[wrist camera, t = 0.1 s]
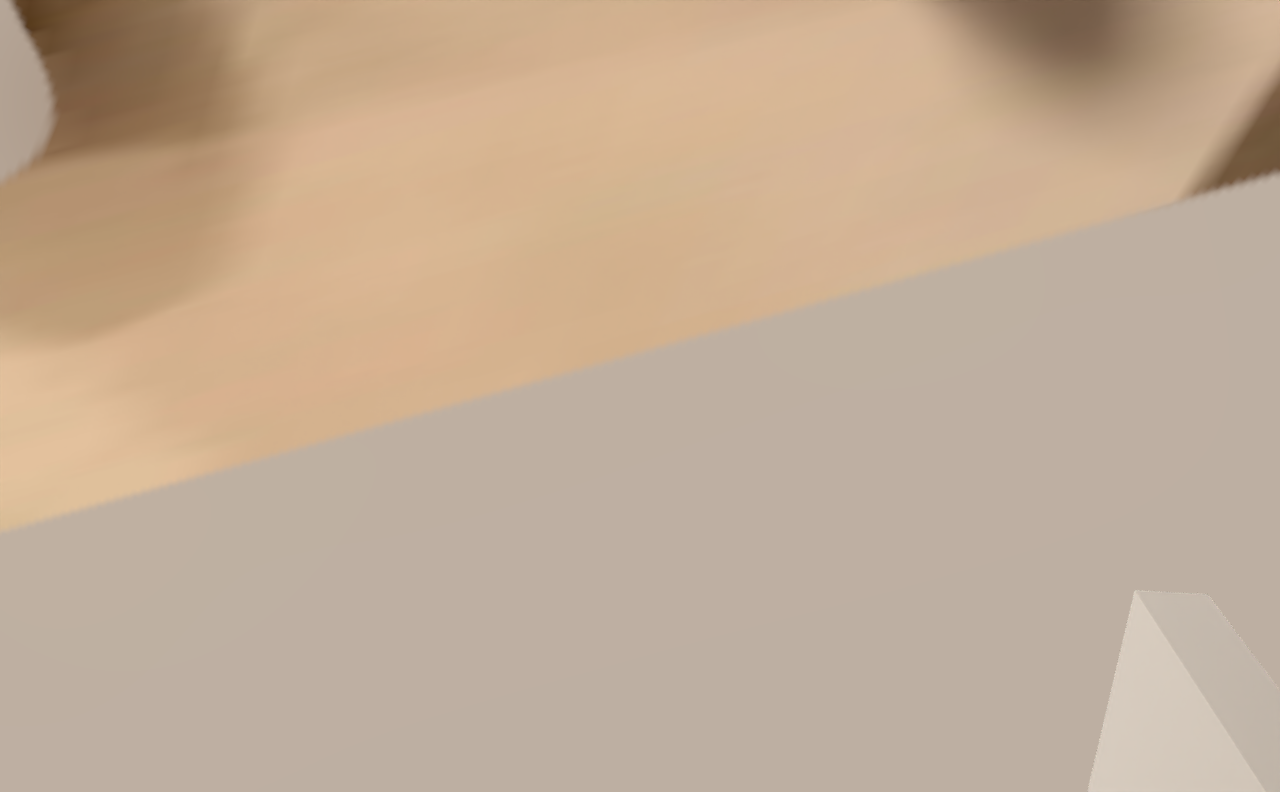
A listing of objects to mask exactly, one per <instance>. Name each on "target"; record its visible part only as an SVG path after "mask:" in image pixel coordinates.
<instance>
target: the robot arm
mask: <svg viewBox="0 0 1280 792" xmlns="http://www.w3.org/2000/svg"><path fill="white" fill-rule="evenodd" d="M1087 792H1280V689H1279V688H1278V686H1277V685H1276V684H1275V683H1274V681H1273V680H1272V679H1271V677H1270V676H1269V675H1268V673H1267V672H1266V671H1265V669H1264V668H1263V667H1262V665H1261V664H1260V663H1259V661H1258V660H1257V659H1256V657H1255V656H1254V655H1253V653H1252V652H1251V651H1250V649H1249V648H1248V647H1247V645H1246V644H1245V643H1244V642H1243V640H1242V639H1241V638H1240V636H1239V635H1238V634H1237V632H1236V631H1235V630H1234V628H1233V627H1232V626H1231V624H1230V623H1229V622H1228V621H1227V619H1226V618H1225V616H1224V615H1223V614H1222V613H1221V611H1220V610H1219V609H1218V607H1217V606H1216V605H1215V603H1214V602H1213V601H1212V599H1211V598H1210V597H1209V595H1208V594H1192V593H1175V592H1159V591H1142V590H1135V591H1134V596H1133V600H1132V605H1131V608H1130V613H1129V617H1128V621H1127V625H1126V630H1125V634H1124V638H1123V643H1122V647H1121V651H1120V655H1119V660H1118V664H1117V668H1116V672H1115V676H1114V681H1113V685H1112V689H1111V694H1110V698H1109V702H1108V706H1107V710H1106V715H1105V719H1104V723H1103V727H1102V732H1101V736H1100V740H1099V744H1098V748H1097V753H1096V757H1095V761H1094V765H1093V770H1092V774H1091V778H1090V782H1089V787H1088V791H1087Z"/></svg>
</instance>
